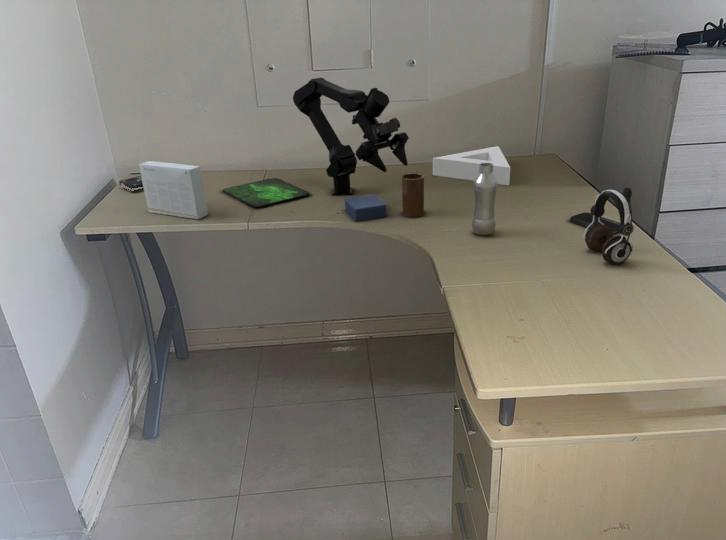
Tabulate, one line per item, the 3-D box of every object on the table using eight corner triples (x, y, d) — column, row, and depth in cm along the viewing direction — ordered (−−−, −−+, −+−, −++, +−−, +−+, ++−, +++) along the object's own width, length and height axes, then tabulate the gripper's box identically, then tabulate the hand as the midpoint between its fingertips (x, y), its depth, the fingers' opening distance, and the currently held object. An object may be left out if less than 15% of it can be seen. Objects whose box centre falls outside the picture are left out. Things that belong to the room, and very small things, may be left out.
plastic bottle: (494, 238, 182) (498, 168, 172) (470, 237, 183) (473, 167, 173) (495, 230, 187) (499, 161, 177) (472, 229, 188) (475, 161, 178)
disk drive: (133, 194, 228) (170, 184, 237) (131, 186, 227) (169, 176, 236) (120, 188, 235) (157, 178, 244) (118, 180, 233) (155, 171, 242)
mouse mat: (220, 190, 228) (219, 187, 227) (274, 178, 239) (274, 175, 239) (255, 209, 209) (254, 206, 208) (312, 195, 220) (312, 192, 219)
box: (344, 210, 206) (343, 198, 204) (374, 206, 209) (374, 194, 207) (355, 221, 197) (355, 209, 195) (387, 216, 200) (386, 204, 198)
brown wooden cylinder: (402, 210, 204) (401, 173, 198) (422, 210, 204) (422, 172, 198) (403, 218, 198) (402, 179, 192) (424, 217, 198) (424, 179, 192)
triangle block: (509, 185, 224) (510, 167, 220) (434, 187, 224) (434, 169, 221) (497, 162, 250) (498, 145, 246) (430, 164, 250) (430, 147, 247)
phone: (586, 211, 195) (627, 225, 184) (585, 215, 195) (626, 228, 185) (568, 217, 191) (609, 231, 180) (567, 221, 192) (609, 235, 181)
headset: (637, 268, 161) (652, 191, 151) (609, 272, 160) (622, 194, 150) (603, 244, 176) (614, 171, 166) (577, 247, 174) (586, 174, 164)
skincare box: (209, 214, 206) (201, 165, 198) (198, 220, 202) (189, 170, 194) (159, 207, 214) (148, 159, 206) (147, 212, 210) (136, 164, 202)
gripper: (360, 115, 188) (387, 159, 187) (404, 105, 200) (430, 146, 198) (344, 138, 197) (370, 180, 196) (387, 127, 208) (412, 167, 207)
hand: (396, 168), depth 199 cm, fingers open, 9 cm apart
